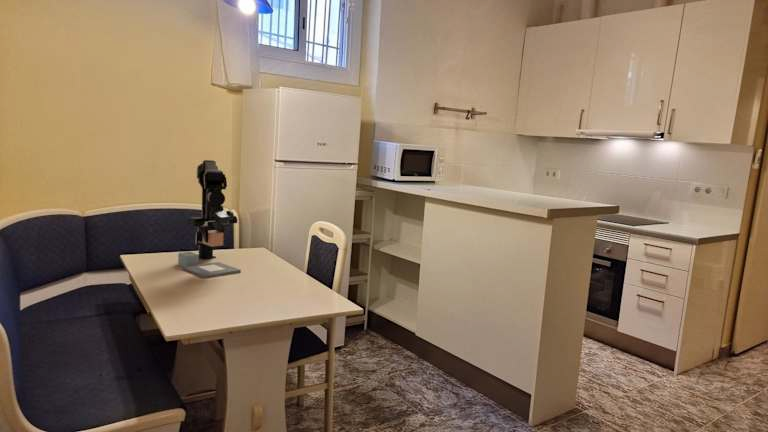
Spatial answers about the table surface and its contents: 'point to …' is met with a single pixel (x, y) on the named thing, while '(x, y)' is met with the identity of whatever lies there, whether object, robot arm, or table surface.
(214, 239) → the brick
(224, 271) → the baseplate
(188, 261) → the brick
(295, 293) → the table surface
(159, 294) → the table surface
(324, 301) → the table surface
